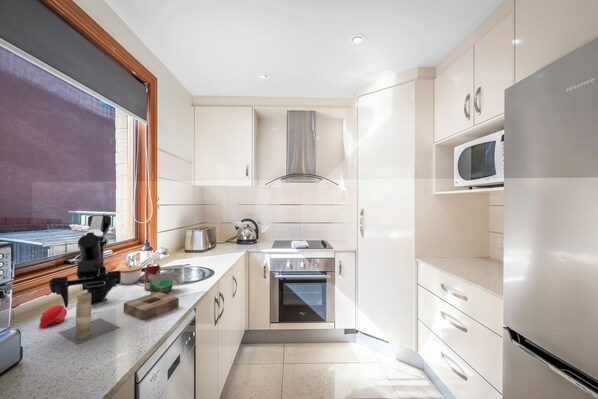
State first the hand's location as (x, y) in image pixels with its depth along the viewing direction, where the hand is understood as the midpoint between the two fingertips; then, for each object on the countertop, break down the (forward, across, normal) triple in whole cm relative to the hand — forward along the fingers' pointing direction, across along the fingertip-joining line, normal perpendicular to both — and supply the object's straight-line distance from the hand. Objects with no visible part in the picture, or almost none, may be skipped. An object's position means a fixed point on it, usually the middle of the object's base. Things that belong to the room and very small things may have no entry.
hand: (84, 304), depth 82 cm
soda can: (-20, +22, +34) cm, 45 cm away
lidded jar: (-31, +12, +45) cm, 57 cm away
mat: (+6, +1, +8) cm, 10 cm away
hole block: (0, +20, +14) cm, 24 cm away
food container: (-12, +26, +27) cm, 39 cm away
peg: (+8, 0, +5) cm, 10 cm away
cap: (-3, -10, +18) cm, 21 cm away
